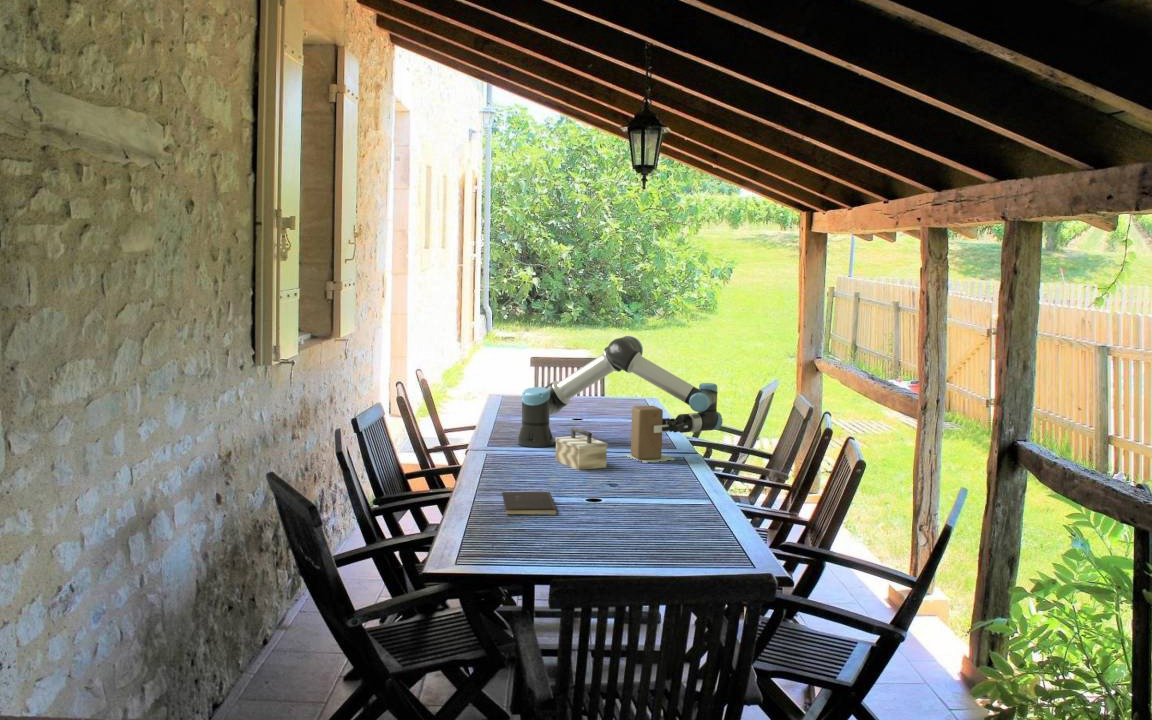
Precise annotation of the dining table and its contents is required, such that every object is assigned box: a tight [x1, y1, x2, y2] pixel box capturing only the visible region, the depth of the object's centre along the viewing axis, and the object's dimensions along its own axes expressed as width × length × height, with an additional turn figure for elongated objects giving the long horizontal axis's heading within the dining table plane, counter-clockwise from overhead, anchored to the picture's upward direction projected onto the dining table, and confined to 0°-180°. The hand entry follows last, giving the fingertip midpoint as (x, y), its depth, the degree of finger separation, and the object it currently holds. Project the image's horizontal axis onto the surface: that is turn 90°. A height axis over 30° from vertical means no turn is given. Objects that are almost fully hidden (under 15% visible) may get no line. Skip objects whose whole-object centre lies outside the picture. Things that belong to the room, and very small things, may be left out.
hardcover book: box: [501, 491, 558, 515], centre depth 322 cm, size 16×23×2 cm
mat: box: [625, 454, 676, 464], centre depth 400 cm, size 14×14×1 cm
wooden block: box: [630, 405, 664, 460], centre depth 398 cm, size 10×10×20 cm
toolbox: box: [554, 426, 608, 471], centre depth 386 cm, size 18×13×13 cm
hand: (644, 426), depth 397 cm, fingers open, 13 cm apart
